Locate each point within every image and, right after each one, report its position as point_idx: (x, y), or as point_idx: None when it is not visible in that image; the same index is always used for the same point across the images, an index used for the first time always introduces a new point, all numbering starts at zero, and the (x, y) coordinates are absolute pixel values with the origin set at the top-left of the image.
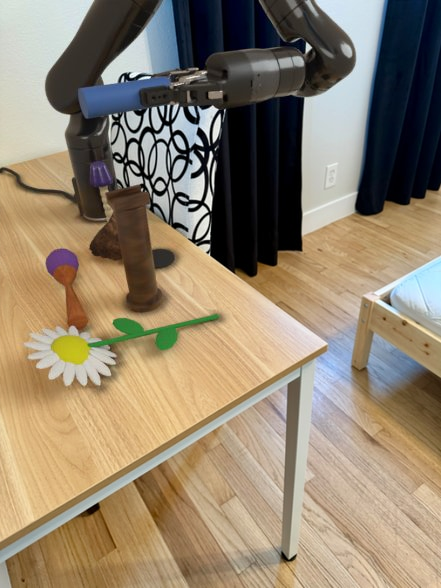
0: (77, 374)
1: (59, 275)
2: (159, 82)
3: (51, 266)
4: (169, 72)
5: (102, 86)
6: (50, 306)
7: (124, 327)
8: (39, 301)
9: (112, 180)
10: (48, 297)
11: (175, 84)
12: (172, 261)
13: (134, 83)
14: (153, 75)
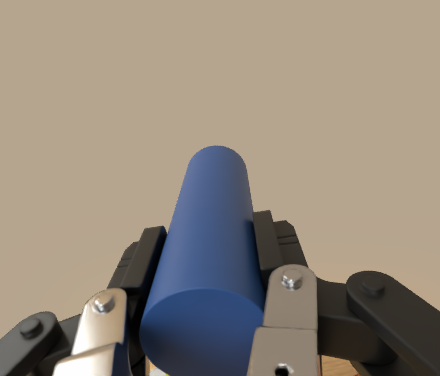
0: (157, 368)
1: (357, 374)
2: (162, 266)
3: None
4: (304, 331)
5: (201, 164)
6: (324, 372)
7: None
8: (341, 361)
9: None
10: (348, 372)
11: (89, 316)
12: None
13: (186, 205)
14: (368, 279)
